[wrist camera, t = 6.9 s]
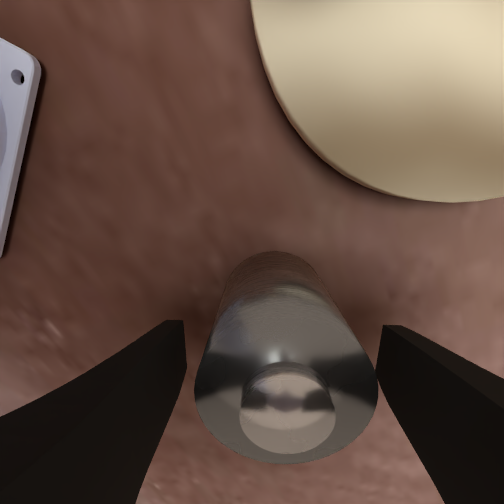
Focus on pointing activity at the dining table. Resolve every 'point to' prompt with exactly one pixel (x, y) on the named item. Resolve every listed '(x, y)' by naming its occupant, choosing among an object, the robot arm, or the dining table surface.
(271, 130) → the dining table surface
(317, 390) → the grey short cylinder
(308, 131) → the turntable
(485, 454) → the robot arm
